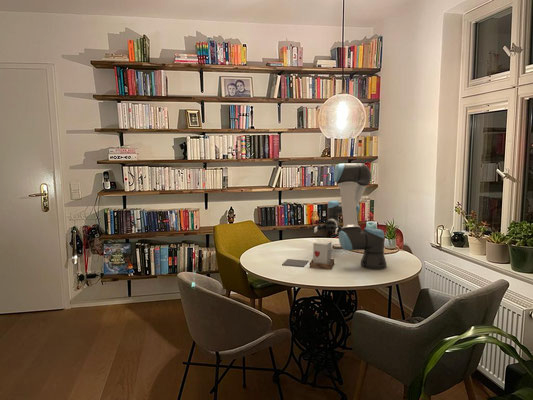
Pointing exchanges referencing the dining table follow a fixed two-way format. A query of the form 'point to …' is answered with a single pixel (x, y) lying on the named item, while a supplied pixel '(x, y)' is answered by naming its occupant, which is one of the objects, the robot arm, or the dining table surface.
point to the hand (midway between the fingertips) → (325, 231)
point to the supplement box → (322, 252)
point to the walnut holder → (322, 265)
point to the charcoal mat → (295, 262)
